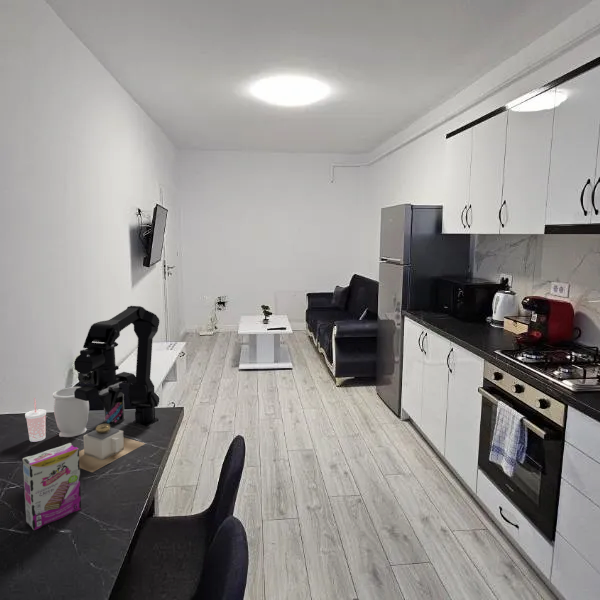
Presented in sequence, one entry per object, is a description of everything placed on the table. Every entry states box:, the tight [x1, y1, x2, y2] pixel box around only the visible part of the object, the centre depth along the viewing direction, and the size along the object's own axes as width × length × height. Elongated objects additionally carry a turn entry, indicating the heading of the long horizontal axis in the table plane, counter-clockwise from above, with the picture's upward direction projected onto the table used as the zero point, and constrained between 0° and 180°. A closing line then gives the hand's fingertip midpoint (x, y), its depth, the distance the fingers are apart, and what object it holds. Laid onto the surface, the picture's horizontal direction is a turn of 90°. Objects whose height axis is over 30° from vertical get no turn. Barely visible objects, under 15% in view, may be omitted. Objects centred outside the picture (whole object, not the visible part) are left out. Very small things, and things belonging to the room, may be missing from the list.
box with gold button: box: [82, 426, 124, 460], centre depth 138 cm, size 8×10×7 cm
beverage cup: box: [24, 397, 47, 443], centre depth 148 cm, size 6×6×14 cm
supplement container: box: [103, 391, 125, 426], centre depth 162 cm, size 7×7×10 cm
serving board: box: [79, 436, 146, 473], centre depth 139 cm, size 20×14×1 cm
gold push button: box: [95, 423, 111, 433], centre depth 139 cm, size 5×5×7 cm
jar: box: [52, 386, 90, 438], centre depth 152 cm, size 11×10×15 cm
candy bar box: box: [22, 442, 82, 531], centre depth 108 cm, size 11×5×16 cm, turn 141°
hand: (108, 411), depth 141 cm, fingers closed
